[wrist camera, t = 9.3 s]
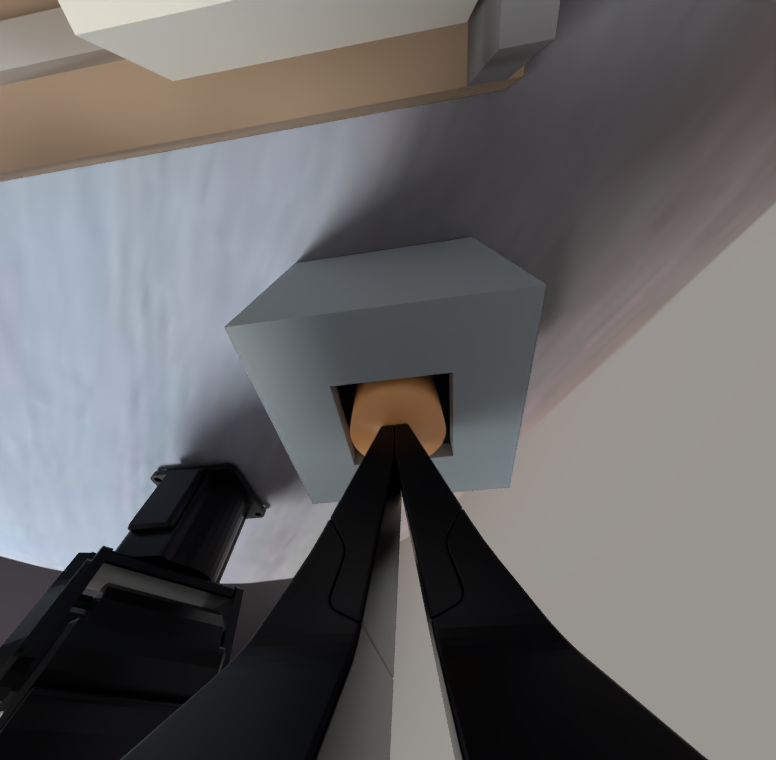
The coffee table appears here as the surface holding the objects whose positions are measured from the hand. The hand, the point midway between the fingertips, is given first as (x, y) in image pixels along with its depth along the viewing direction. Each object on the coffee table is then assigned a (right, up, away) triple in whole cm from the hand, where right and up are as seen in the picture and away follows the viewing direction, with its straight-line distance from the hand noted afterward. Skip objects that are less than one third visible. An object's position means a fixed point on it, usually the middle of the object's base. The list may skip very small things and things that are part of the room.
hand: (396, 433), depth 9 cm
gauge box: (0, +4, +6) cm, 7 cm away
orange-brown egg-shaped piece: (0, +2, +3) cm, 4 cm away
